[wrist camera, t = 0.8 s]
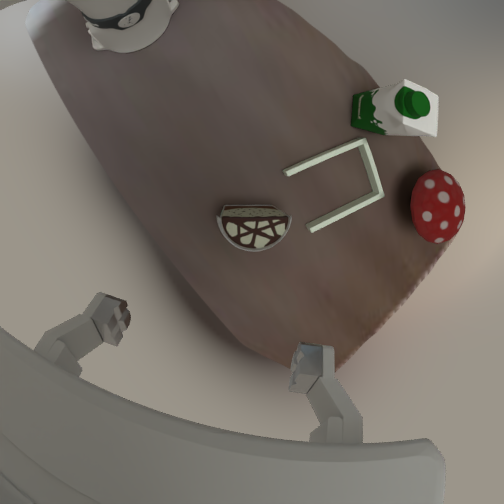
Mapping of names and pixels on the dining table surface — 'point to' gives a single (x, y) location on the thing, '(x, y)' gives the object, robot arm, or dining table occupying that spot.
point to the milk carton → (397, 110)
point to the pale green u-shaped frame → (356, 203)
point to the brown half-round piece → (253, 226)
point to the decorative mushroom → (437, 206)
